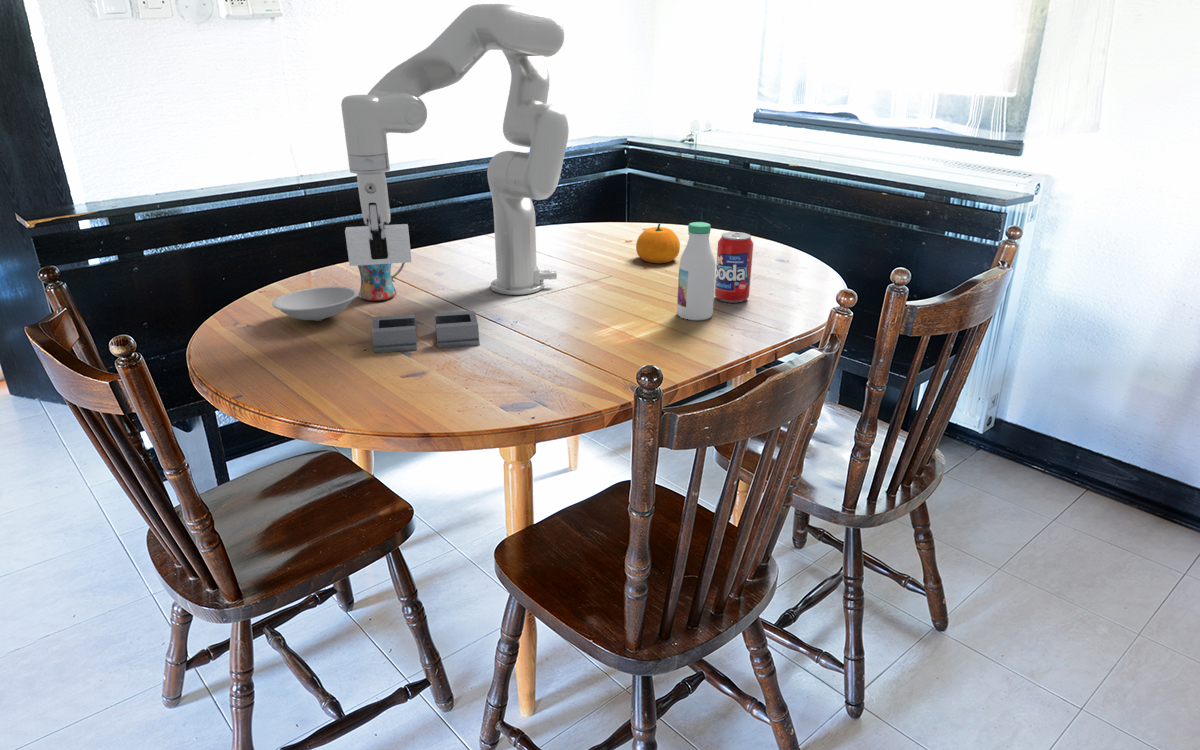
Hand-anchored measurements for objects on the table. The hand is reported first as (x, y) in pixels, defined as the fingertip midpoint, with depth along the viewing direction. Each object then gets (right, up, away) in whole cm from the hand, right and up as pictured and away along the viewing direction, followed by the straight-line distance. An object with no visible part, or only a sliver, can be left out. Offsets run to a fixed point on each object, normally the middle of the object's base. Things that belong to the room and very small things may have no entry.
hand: (380, 255), depth 160 cm
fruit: (+60, +6, +53) cm, 80 cm away
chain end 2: (+16, -17, -1) cm, 23 cm away
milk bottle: (+65, -11, +12) cm, 67 cm away
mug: (-6, -6, +24) cm, 25 cm away
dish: (-15, -13, +8) cm, 22 cm away
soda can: (+75, -7, +22) cm, 78 cm away
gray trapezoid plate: (0, -1, +1) cm, 1 cm away
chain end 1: (+4, -18, -4) cm, 19 cm away
